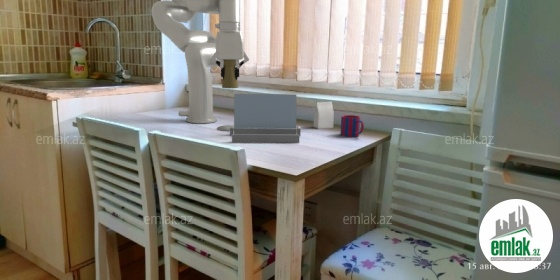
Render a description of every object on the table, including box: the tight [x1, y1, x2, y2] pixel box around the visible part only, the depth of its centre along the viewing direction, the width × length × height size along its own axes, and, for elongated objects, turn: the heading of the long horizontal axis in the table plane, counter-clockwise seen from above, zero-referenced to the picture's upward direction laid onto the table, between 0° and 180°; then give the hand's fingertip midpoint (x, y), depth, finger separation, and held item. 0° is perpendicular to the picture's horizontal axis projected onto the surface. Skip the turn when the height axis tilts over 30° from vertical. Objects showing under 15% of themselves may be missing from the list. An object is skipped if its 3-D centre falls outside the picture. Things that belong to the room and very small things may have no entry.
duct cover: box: [233, 93, 297, 128], centre depth 147 cm, size 12×22×1 cm
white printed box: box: [313, 101, 335, 130], centre depth 161 cm, size 4×7×10 cm, turn 114°
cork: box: [221, 60, 239, 89], centre depth 152 cm, size 6×6×11 cm
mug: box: [339, 114, 365, 138], centre depth 147 cm, size 7×10×7 cm
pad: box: [216, 124, 234, 132], centre depth 157 cm, size 10×10×1 cm
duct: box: [229, 126, 302, 144], centre depth 141 cm, size 12×25×3 cm, turn 93°
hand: (230, 78), depth 153 cm, fingers closed on cork, 3 cm apart
